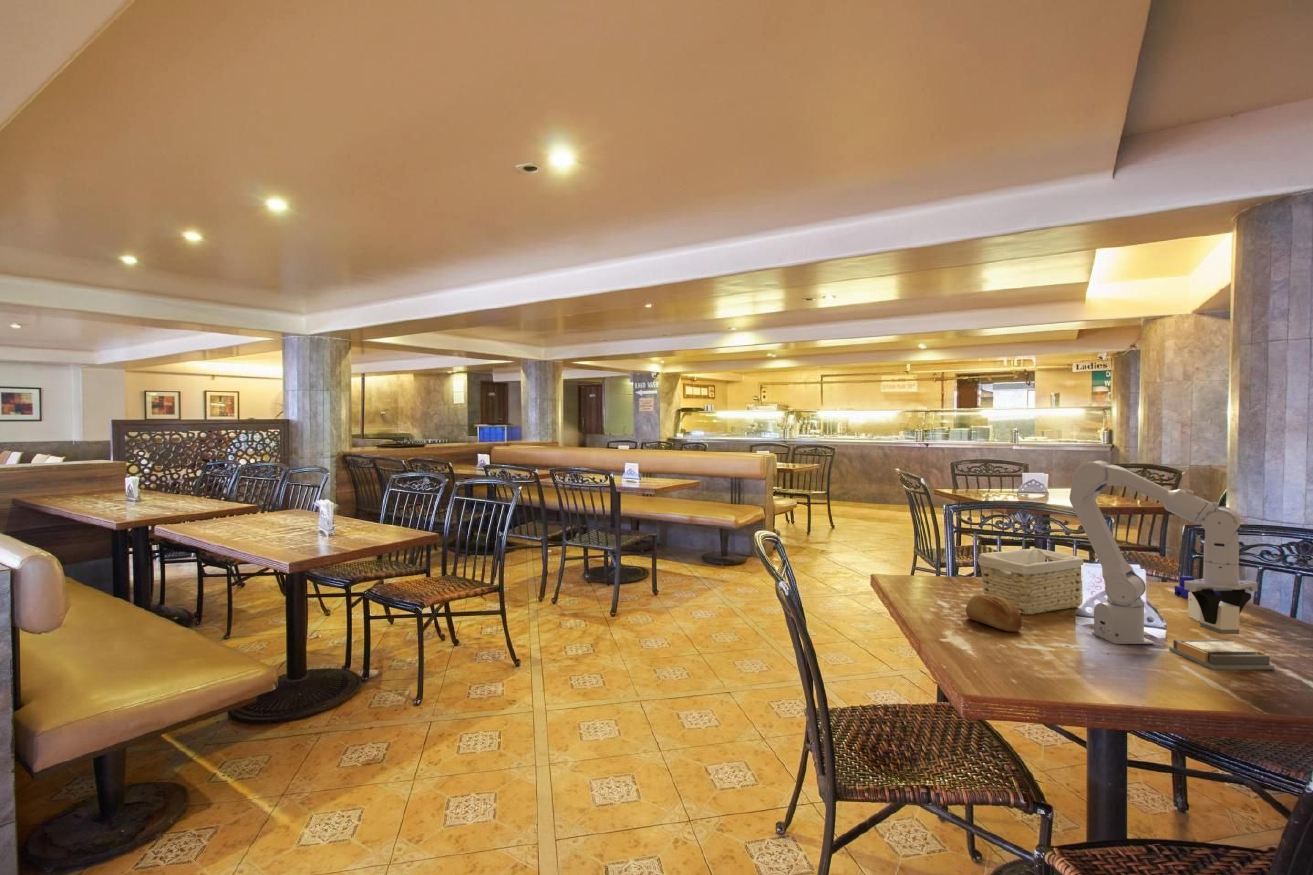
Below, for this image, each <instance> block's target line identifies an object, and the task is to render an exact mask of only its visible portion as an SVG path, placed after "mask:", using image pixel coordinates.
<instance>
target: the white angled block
mask: <svg viewBox="0 0 1313 875" xmlns="http://www.w3.org/2000/svg"><path fill="white" fill-rule="evenodd" d="M1187 602H1188V603H1187V605H1188V606H1187V608H1188V609H1187V617H1188V616H1189V618H1190V617H1191V618H1190V619H1192V618H1193V619H1192V620H1194V619H1195V621H1197V622H1199V621H1200V606H1199V604H1198V602H1197V600H1196V598H1195V597H1194V595H1193V594H1192V593H1191V591H1190V592H1188V599H1187Z"/></svg>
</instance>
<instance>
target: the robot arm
mask: <svg viewBox="0 0 1313 875" xmlns="http://www.w3.org/2000/svg"><path fill="white" fill-rule="evenodd" d="M1107 486H1108V487H1109V486H1113V487H1115V486H1117V487H1119V486H1120V487H1121V486H1122V487H1126V488H1128V489H1131V490H1132V491H1134V492H1135V491H1136V493H1137V492H1138V493H1140V494H1142V495H1144V496H1147V497H1150V498H1152V499H1154V500H1156V501H1159V502H1161V503H1162V505H1163V508H1164V510H1165V511H1167V512H1169V513H1172V514H1173V515H1176V516H1178V517H1180V518H1181V519H1184V520H1186V521H1188V522H1191V523H1193V524H1195V525H1201V527H1202V528H1203V530H1204V540H1203V571H1202V572H1203V576H1202V577H1203V578H1199V579H1194V580H1191V581H1184V589H1185V590H1189V591H1191V593H1192V594H1193V595H1194V597H1195V598H1196V600H1197V602H1198V604H1199V606H1200V608H1201V611H1202V614H1203V617H1204V621H1205V622H1208V623H1211V624H1216V621H1217V611H1218V606H1219V603H1220V600H1221V599H1222V601H1223V602H1225V603H1228V604H1232V605H1235V606H1238V607H1239V616H1240V615H1241V613H1242V611H1243V609H1244V607H1245V605H1247V603H1248V602H1249V601H1250V600H1251V599H1252V593H1250V592H1258V582H1256V581H1253V580H1242V579H1240V578H1239V576H1240V574H1239V572H1240V570H1239V568H1240V567H1239V566H1240V564H1239V563H1240V558H1239V557H1240V543H1239V542H1238V541H1239V532H1238V531H1237V530H1238V529H1239V528H1240V526H1241V522H1242V521H1241V520H1242V519H1241V517H1240V516H1239V514H1238V513H1237V512H1236V511H1234V510H1233V509H1232V508H1230V507H1228V506H1219V505H1220V504H1219V502H1217V501H1213V502H1212V501H1209V500H1207V499H1205V498H1202V497H1199V496H1197V495H1195V494H1194V493H1195V492H1194V491H1193V490H1191V489H1186V490H1184V489H1182V488H1181V489H1180V488H1178V489H1173V490H1170V489H1168V488H1166V487H1165V486H1162V485H1160V484H1158V483H1155V482H1153V481H1152V480H1150V479H1147V478H1145V477H1144V476H1141V475H1139V474H1137V473H1135V472H1133V471H1131V470H1129V469H1126V468H1124V467H1122V466H1120V465H1115V464H1111V463H1110V462H1107V461H1104V460H1095V461H1087V462H1083V463H1081V464H1079V465H1078V466H1077V467H1076V469H1075V470H1074V472H1073V473H1072V475H1071V487H1070V492H1069V493H1070V494H1069V503H1070V504H1071V506H1072V508H1073V511H1074V513H1075V514H1076V516H1077V518H1078V521H1079V523H1080V525H1081V526H1082V528H1083V530H1084V532H1085V535H1086V537H1087V539H1088V541H1089V543H1090V545H1091V547H1092V549H1093V551H1094V553H1095V555H1096V557H1097V560H1098V562H1099V564H1100V565H1101V572H1102V573H1101V574H1102V578H1103V581H1104V583H1105V584H1104V592H1105V594H1106V596H1107V597H1106V601H1104V602H1098V603H1096V604H1095V606H1094V609H1093V630H1091V634H1092V635H1095V636H1098V637H1100V638H1102V639H1103V640H1106V641H1107V642H1111V643H1112V644H1114V645H1152V644H1153V645H1154V643H1155V642H1154V641H1152V640H1150V639H1148V638H1146V637H1145V636H1144V634H1145V602H1144V601H1143V599H1142V598H1141V597H1142V596H1143V595H1144V594H1145V592H1146V590H1147V587H1146V582H1145V581H1144V579H1143V578H1142V577H1140V576H1139V575H1138V574H1137V573H1136V571H1134V569H1133V567H1132V565H1131V564H1129V562H1128V561H1126V559H1125V557H1124V555H1123V552H1122V551H1121V549H1120V547H1119V545H1118V543H1117V541H1116V539H1115V537H1114V535H1113V533H1112V531H1111V529H1110V527H1109V525H1108V523H1107V522H1106V520H1105V517H1104V515H1103V513H1102V511H1101V508H1100V507H1099V505H1098V503H1097V501H1096V500H1097V498H1098V497H1099V495H1100V493H1101V492H1102V490H1103V489H1104V488H1105V487H1107ZM1214 591H1219V592H1220V594H1221V595H1217V594H1215V592H1214ZM1246 591H1250V592H1246Z"/></svg>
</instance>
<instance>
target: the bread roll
mask: <svg viewBox="0 0 1313 875" xmlns="http://www.w3.org/2000/svg"><path fill="white" fill-rule="evenodd" d="M965 614H966V616H967V617H968V618H969V620H970V619H971V620H972V621H975V622H978V623H981V624H984V625H987V626H990V627H993V628H996V629H997V630H998V629H999V630H1001V631H1005V632H1018V631H1020V630H1021V629H1022V626H1023V618H1022V616H1021V615H1022V614H1020V613H1019V611H1018V610H1017V608H1016V607H1015V606H1014V605H1013V604H1012V603H1010V602H1009V601H1008V600H1006V599H1004V598H1002V597H999V596H995V595H991V594H990V595H989V594H984V593H983V594H980V593H979V594H975V595H972V596H971V597H970V599H969V600H968V602H967V605H966V607H965Z"/></svg>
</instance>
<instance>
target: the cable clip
mask: <svg viewBox="0 0 1313 875" xmlns="http://www.w3.org/2000/svg"><path fill="white" fill-rule="evenodd" d="M1191 580H1195V578H1194V577H1193V576H1190V575H1179V585H1174V596H1177V595H1180V596H1181V598H1183V597H1184V598H1183V599H1186V598H1187V600H1188V592H1190V591H1189V590H1185V589H1184V581H1191ZM1214 592H1215V594H1217V595H1221V594H1220V592H1219V591H1214ZM1180 596H1179V597H1180ZM1220 601H1222V599H1221V600H1220ZM1222 602H1223V601H1222Z"/></svg>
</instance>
